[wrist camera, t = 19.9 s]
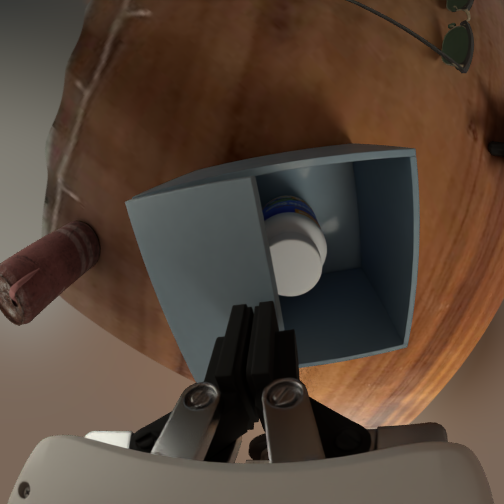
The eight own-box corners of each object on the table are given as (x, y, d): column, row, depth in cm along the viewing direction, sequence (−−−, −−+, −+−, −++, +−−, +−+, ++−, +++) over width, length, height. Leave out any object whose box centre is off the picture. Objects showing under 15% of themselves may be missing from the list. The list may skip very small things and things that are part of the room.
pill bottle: (319, 197, 24) (342, 231, 15) (311, 252, 26) (326, 308, 18) (260, 191, 25) (250, 221, 16) (255, 246, 27) (244, 301, 18)
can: (111, 245, 29) (31, 311, 16) (88, 274, 31) (19, 338, 18) (80, 207, 27) (-9, 254, 14) (60, 239, 29) (-15, 290, 16)
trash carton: (226, 289, 29) (198, 374, 18) (195, 170, 25) (131, 197, 13) (364, 268, 27) (407, 347, 16) (352, 143, 22) (415, 148, 11)
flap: (198, 378, 18) (195, 382, 17) (130, 199, 13) (124, 201, 13) (297, 403, 14) (295, 408, 14) (255, 175, 9) (250, 177, 9)
